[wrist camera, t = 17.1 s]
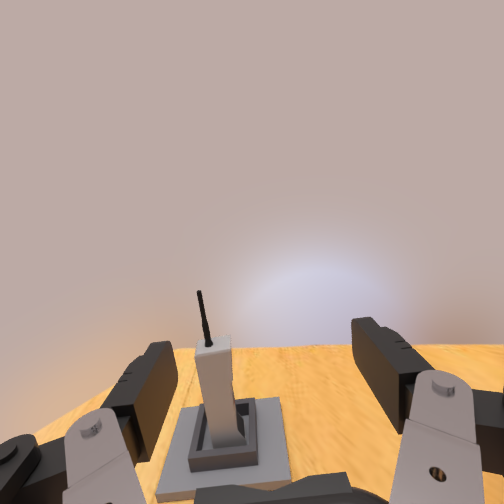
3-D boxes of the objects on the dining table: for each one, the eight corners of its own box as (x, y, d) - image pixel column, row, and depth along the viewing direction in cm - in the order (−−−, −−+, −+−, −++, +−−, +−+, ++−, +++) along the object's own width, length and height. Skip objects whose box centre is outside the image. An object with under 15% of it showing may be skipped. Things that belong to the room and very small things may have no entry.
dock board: (280, 403, 48) (277, 385, 47) (292, 487, 35) (289, 464, 34) (183, 414, 49) (178, 396, 48) (157, 502, 35) (151, 479, 34)
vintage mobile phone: (247, 446, 40) (221, 291, 34) (213, 453, 39) (182, 298, 33) (245, 425, 43) (221, 281, 37) (214, 431, 43) (186, 287, 37)
